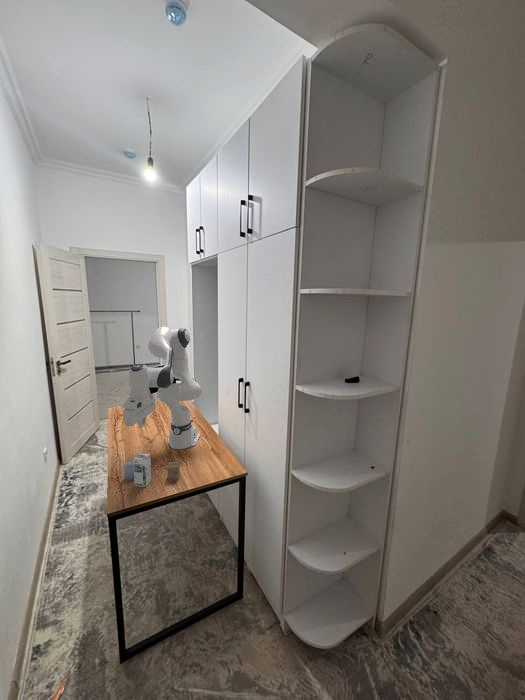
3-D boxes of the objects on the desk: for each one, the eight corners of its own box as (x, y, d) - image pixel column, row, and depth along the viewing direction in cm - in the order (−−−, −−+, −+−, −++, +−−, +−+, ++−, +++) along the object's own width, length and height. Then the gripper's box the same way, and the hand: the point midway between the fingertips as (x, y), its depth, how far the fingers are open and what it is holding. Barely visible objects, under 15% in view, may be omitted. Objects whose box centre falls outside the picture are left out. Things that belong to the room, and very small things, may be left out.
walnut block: (169, 474, 148) (168, 462, 146) (179, 474, 148) (179, 461, 147) (167, 480, 143) (167, 467, 142) (178, 479, 144) (177, 466, 142)
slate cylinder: (128, 474, 147) (128, 459, 146) (137, 475, 147) (136, 461, 145) (122, 480, 143) (121, 465, 141) (131, 481, 142) (130, 466, 140)
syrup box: (134, 486, 138) (132, 458, 135) (141, 479, 143) (139, 452, 141) (145, 487, 137) (143, 459, 135) (151, 480, 143) (150, 453, 140)
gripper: (146, 391, 146) (148, 417, 148) (120, 406, 126) (122, 435, 128) (158, 392, 144) (159, 418, 147) (133, 407, 125) (135, 437, 127)
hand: (142, 426), depth 138 cm, fingers closed
